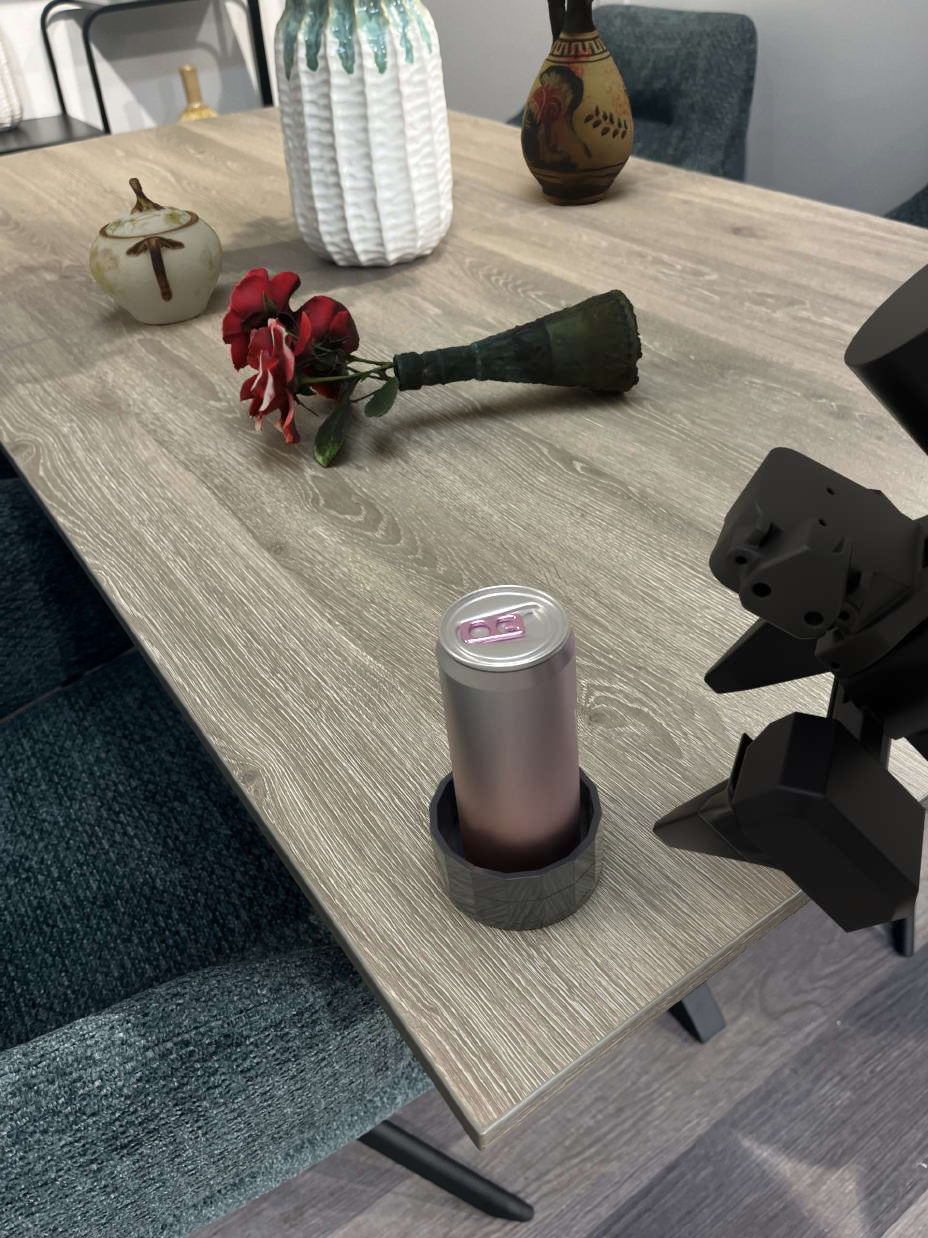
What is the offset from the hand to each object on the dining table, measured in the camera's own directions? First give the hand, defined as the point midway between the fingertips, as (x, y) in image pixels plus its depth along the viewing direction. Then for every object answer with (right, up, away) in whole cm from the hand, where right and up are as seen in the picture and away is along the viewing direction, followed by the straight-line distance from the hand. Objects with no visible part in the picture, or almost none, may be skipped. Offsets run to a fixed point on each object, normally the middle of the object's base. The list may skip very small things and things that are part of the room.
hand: (687, 754), depth 43 cm
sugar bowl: (-44, +42, +77) cm, 99 cm away
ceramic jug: (+6, +66, +100) cm, 120 cm away
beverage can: (-6, -6, +9) cm, 13 cm away
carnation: (-12, +25, +50) cm, 57 cm away
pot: (-7, -7, +9) cm, 13 cm away
